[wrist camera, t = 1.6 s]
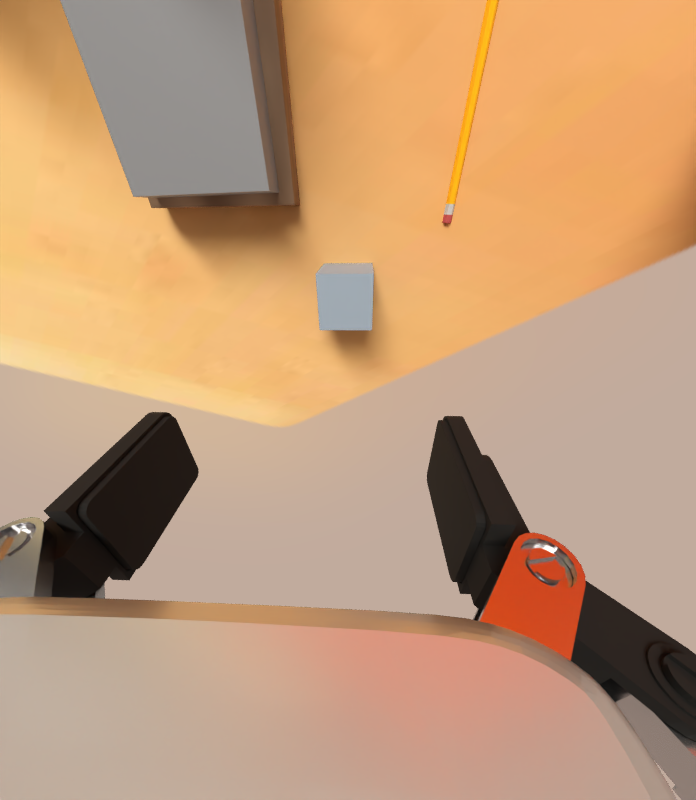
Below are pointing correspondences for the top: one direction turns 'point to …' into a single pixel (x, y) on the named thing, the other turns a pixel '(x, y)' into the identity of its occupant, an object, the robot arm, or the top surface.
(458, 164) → the pencil
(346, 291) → the slate block
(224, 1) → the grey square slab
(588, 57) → the top surface
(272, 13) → the walnut base slab
